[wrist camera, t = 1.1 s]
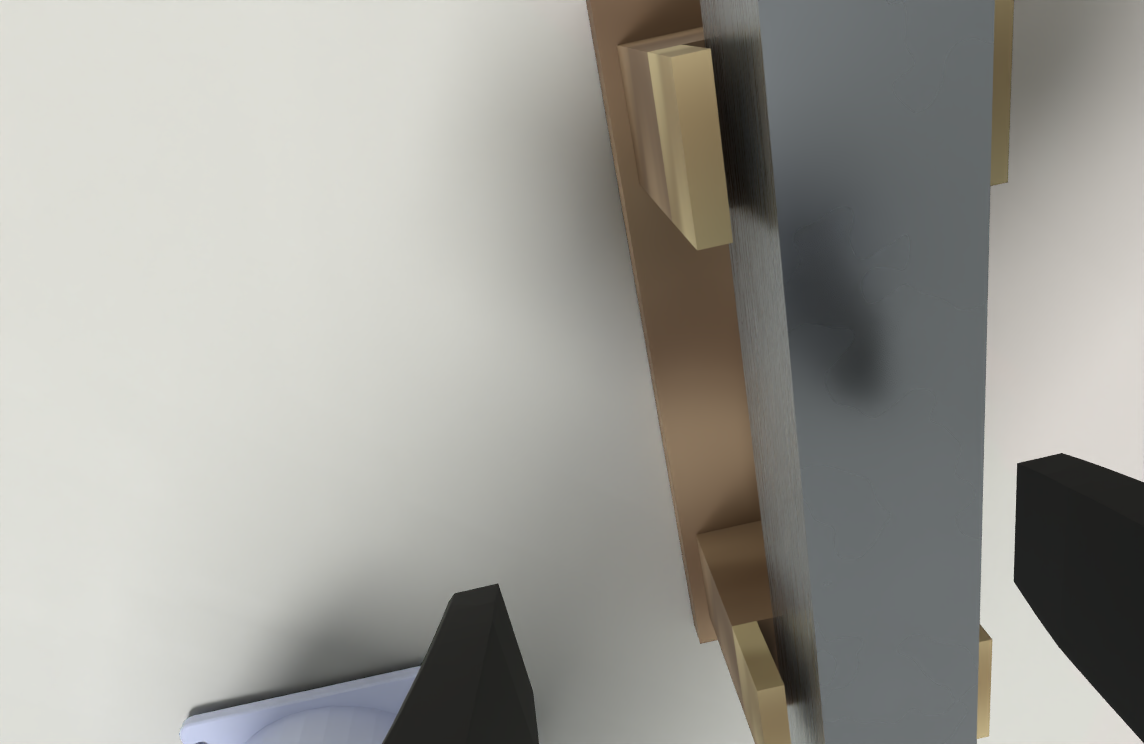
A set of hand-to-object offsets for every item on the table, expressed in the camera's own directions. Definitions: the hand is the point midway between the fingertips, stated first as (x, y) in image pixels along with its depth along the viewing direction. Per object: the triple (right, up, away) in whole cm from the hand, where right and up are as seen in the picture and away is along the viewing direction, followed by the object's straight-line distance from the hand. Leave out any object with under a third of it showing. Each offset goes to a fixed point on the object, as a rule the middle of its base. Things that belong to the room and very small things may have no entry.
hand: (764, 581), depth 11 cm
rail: (+3, +2, +6) cm, 7 cm away
